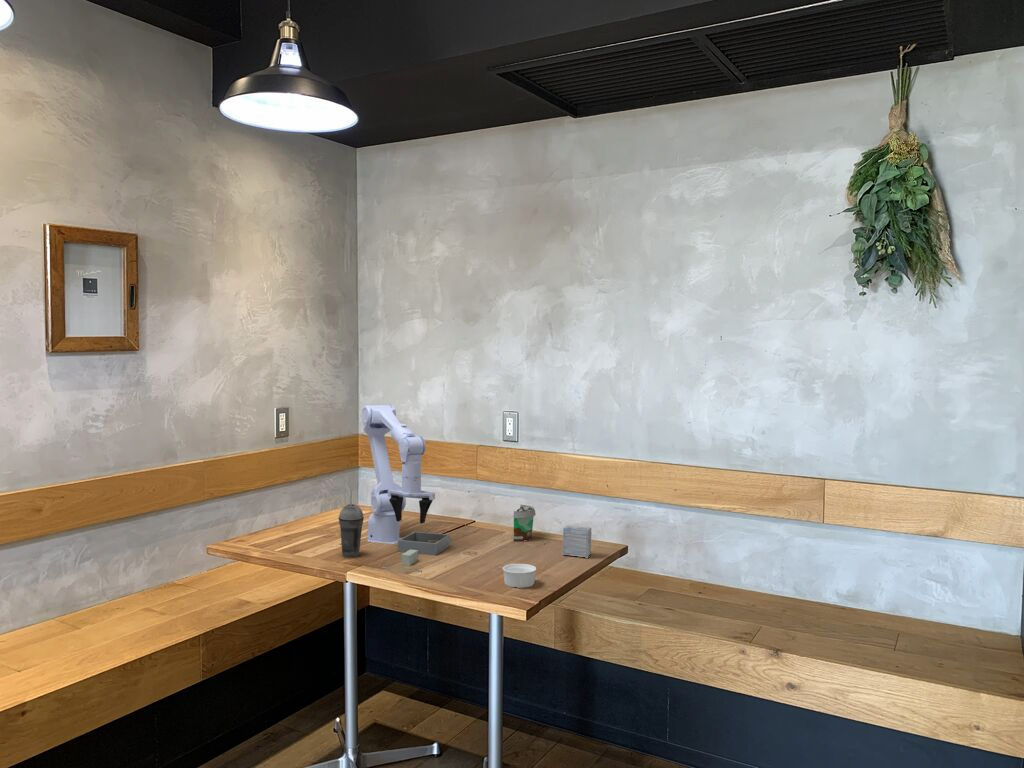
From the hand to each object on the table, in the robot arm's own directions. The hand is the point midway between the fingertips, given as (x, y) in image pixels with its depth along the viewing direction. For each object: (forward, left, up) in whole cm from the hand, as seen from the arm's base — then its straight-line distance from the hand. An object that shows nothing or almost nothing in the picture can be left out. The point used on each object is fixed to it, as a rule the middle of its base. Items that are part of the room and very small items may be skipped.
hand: (410, 521), depth 230 cm
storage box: (+3, +4, -9) cm, 11 cm away
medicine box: (+48, +15, -10) cm, 51 cm away
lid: (+5, -12, -10) cm, 16 cm away
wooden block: (+5, +6, -9) cm, 12 cm away
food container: (+28, +30, -10) cm, 42 cm away
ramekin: (+39, -18, -10) cm, 44 cm away
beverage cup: (-14, -11, -10) cm, 20 cm away
